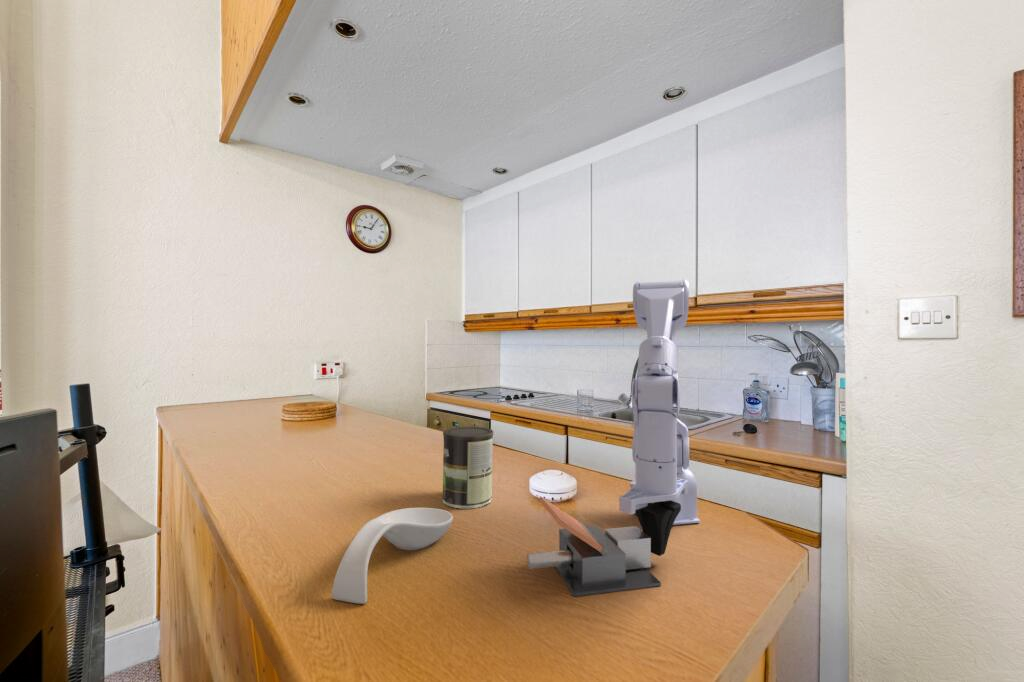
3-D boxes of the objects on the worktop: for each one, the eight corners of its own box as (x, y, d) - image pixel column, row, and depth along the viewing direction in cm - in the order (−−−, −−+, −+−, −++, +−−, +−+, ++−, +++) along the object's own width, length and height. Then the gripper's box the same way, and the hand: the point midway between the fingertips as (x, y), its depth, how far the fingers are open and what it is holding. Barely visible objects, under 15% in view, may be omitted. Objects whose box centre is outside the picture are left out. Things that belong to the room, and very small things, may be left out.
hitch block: (620, 547, 65) (620, 520, 65) (660, 585, 54) (660, 553, 55) (547, 554, 62) (547, 527, 63) (574, 596, 52) (574, 563, 52)
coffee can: (439, 510, 80) (440, 436, 80) (444, 492, 90) (445, 426, 90) (493, 509, 81) (494, 435, 81) (491, 491, 91) (492, 426, 91)
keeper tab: (578, 527, 63) (581, 522, 63) (605, 557, 54) (609, 550, 54) (537, 500, 61) (540, 495, 62) (557, 525, 52) (561, 519, 53)
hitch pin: (636, 553, 62) (636, 526, 62) (650, 567, 58) (650, 537, 58) (525, 565, 58) (525, 536, 58) (532, 580, 54) (533, 549, 54)
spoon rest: (400, 523, 74) (400, 482, 74) (462, 530, 72) (463, 487, 72) (306, 599, 51) (308, 540, 51) (394, 613, 48) (395, 551, 49)
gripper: (659, 446, 68) (659, 530, 68) (601, 459, 59) (601, 556, 59) (701, 454, 63) (701, 546, 62) (644, 470, 54) (644, 577, 53)
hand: (655, 552), depth 60 cm, fingers closed
